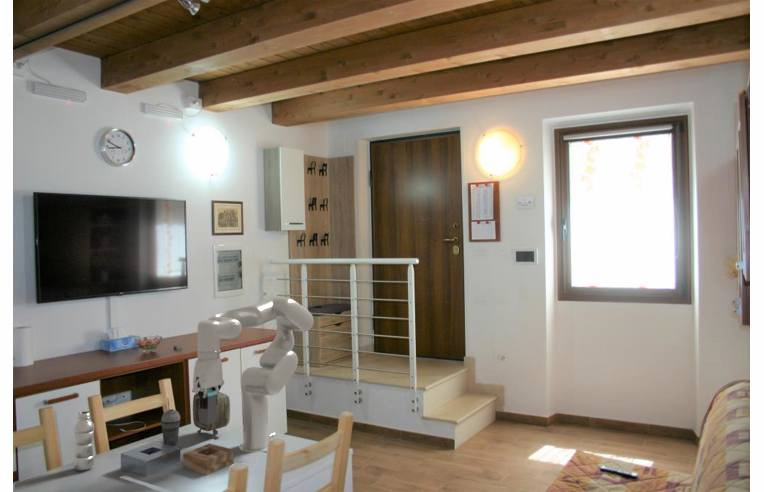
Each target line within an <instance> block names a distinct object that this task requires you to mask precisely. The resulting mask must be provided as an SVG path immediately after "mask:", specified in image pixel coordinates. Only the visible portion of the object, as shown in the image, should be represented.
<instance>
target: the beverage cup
mask: <svg viewBox="0 0 764 492" xmlns="http://www.w3.org/2000/svg"><path fill="white" fill-rule="evenodd" d="M170 407H171V406H170V398H169V397H168V398H167V410H166V411H164V413H163V414H162V416H161V418H160V419H161V420H160V424H161V429H162V430H161V431H162V441H163V442H162V443H163V444H166V445H170V446H173V447H177V448H178V443H179V434H180V433H179V430H180V425H181V420H182V419H181V415H180V413H179V411H177V410H175V409H171V408H170Z"/></svg>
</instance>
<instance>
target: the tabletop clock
mask: <svg viewBox="0 0 764 492" xmlns="http://www.w3.org/2000/svg"><path fill="white" fill-rule="evenodd" d="M208 389H210V390H211V388H208ZM208 389H207V390H208ZM199 419H200V397H198V395H197V394H196V393H194V395H193V401H192V420H193V425H194V426H195V427H196V428H198V430H197V431H196V434H198V435H200V434H201V433H202V431H205V432H212V436H211V440H214V441H215V440H216V438H217V437H216V435H217V434H218V433H219V431H218V429H219V430H220V429H223V428H225V427H227V426H228V425H229V423H230V420H231V400H230V396H228V395H227V394H226V393H223V392H220V391H219V394H217V406H216V422H214V423H211V424H208V425H206V424H203V423H199Z"/></svg>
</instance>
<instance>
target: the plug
mask: <svg viewBox="0 0 764 492" xmlns="http://www.w3.org/2000/svg"><path fill="white" fill-rule="evenodd" d="M202 393H203V390H202ZM206 397H207V409H202V408H200V419H199V423H203V424H206V425H208V424H211V423H214V422H216V405H217V391H214V390H210V389H208V390H207V393H206Z"/></svg>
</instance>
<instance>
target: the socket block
mask: <svg viewBox="0 0 764 492" xmlns="http://www.w3.org/2000/svg"><path fill="white" fill-rule="evenodd" d="M180 463H181V448H180V447H178V446H177V447H173V446H170V445H166V444H164V443H163V442H158V441H151V442H148V443H147V444H143V445H141V446H138V447H135V448H132V449H129V450H126V451H123V452H121V453H120V471H121V472H124V473H128V472H133V473H136V474H139V475H142V476H145V477H149V476H150V475H154V474H156V473H158V472H161V471H163V470H166V469H168V468H170V467H172V466H175V465H177V464H180Z"/></svg>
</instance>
